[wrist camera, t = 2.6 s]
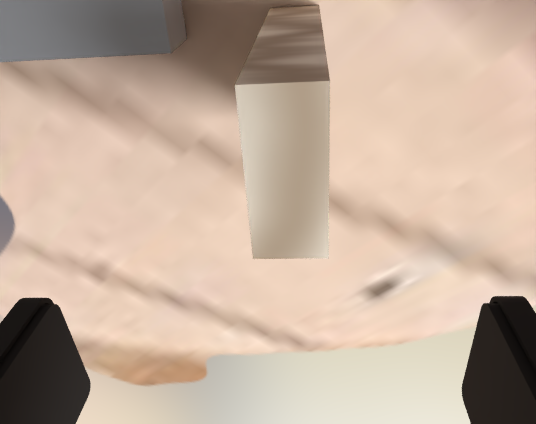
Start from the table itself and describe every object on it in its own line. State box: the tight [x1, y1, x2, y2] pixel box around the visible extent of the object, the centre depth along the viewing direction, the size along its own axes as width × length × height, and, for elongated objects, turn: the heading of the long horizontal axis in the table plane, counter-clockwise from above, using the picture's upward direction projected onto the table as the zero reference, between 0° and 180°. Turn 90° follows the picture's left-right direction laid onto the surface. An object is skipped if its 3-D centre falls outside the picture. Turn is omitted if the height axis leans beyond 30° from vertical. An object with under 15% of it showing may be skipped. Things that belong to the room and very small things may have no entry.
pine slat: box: [235, 5, 330, 259], centre depth 23 cm, size 3×7×16 cm, turn 4°
